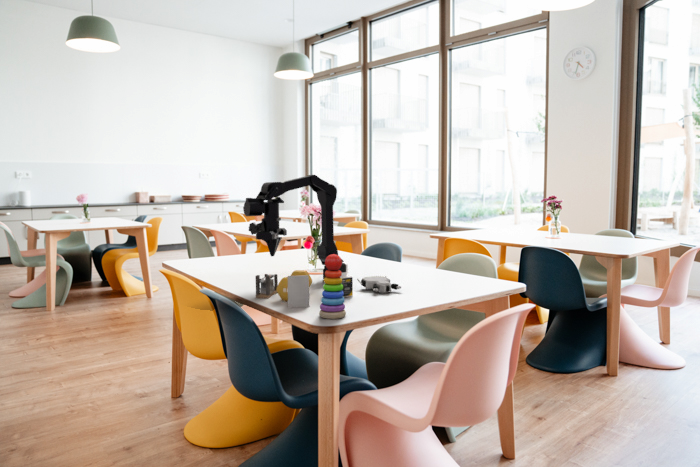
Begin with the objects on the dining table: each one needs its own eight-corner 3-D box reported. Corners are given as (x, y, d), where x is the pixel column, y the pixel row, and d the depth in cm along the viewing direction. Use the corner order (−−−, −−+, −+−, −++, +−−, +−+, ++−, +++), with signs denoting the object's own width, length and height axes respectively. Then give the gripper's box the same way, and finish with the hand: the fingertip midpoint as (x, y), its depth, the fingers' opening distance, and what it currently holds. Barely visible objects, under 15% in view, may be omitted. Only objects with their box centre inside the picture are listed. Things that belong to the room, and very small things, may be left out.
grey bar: (268, 277, 190) (268, 273, 190) (273, 277, 190) (273, 273, 190) (259, 283, 181) (259, 279, 181) (264, 283, 180) (264, 279, 180)
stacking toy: (333, 321, 149) (332, 256, 147) (313, 316, 154) (312, 254, 152) (351, 316, 155) (350, 254, 153) (332, 311, 160) (331, 251, 158)
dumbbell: (300, 302, 174) (300, 278, 173) (274, 301, 176) (274, 278, 175) (313, 291, 193) (313, 269, 192) (290, 290, 194) (289, 269, 194)
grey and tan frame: (266, 292, 191) (265, 271, 191) (277, 292, 191) (277, 271, 190) (255, 298, 181) (255, 276, 180) (268, 298, 180) (267, 276, 180)
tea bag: (309, 306, 167) (309, 276, 167) (288, 307, 166) (288, 277, 165) (308, 304, 171) (308, 274, 170) (288, 305, 170) (287, 275, 169)
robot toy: (403, 295, 189) (384, 285, 202) (403, 283, 188) (384, 274, 202) (373, 298, 184) (356, 287, 197) (373, 286, 183) (356, 276, 197)
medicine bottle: (334, 298, 179) (334, 264, 178) (326, 294, 186) (325, 261, 185) (352, 296, 183) (352, 262, 182) (343, 292, 189) (343, 260, 188)
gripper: (260, 214, 206) (260, 252, 208) (241, 216, 188) (243, 259, 190) (286, 214, 204) (287, 253, 206) (271, 216, 186) (272, 259, 188)
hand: (272, 256), depth 197 cm, fingers closed
